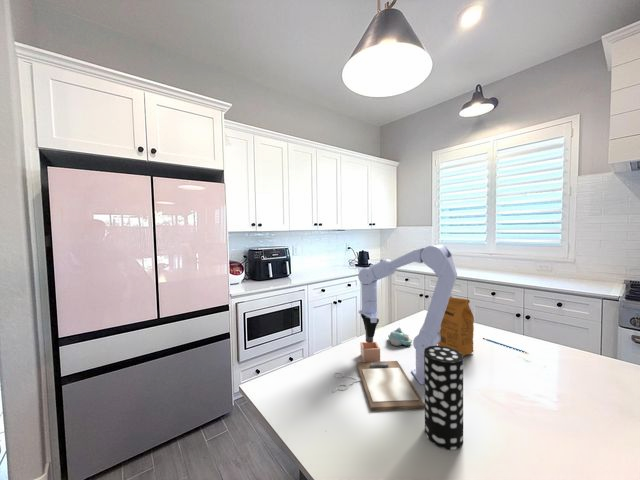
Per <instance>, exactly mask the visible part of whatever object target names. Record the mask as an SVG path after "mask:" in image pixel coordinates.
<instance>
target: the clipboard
mask: <svg viewBox="0 0 640 480" xmlns="http://www.w3.org/2000/svg"><path fill="white" fill-rule="evenodd" d="M356 368H357V370H358V374H359V378H361V380H362V381H361V382H362V385H363V389H364V392H365V395H366V399H367V403H368V406H369V408H370V411H371V412H374V411H375V412H376V411H377V412H378V411H380V412H381V411H397V410H399V411H400V410H402V411H403V410H416V409H417V410H421V409H422V410H423V409H424V410H425V401H424V400H423V399H422V398H421V395H419V393H418V391H417V390H416V388H415V386H414V384H413V383H412V382H411V380H410V378H409V376H408V375H407V374H406V372H405V371H404V369H403V368H402V366H401V364H400V363H399V360H389V361H386V360H385V361H384V360H383V361H381V360H380V362H363V361H360V362H357V361H356Z"/></svg>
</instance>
